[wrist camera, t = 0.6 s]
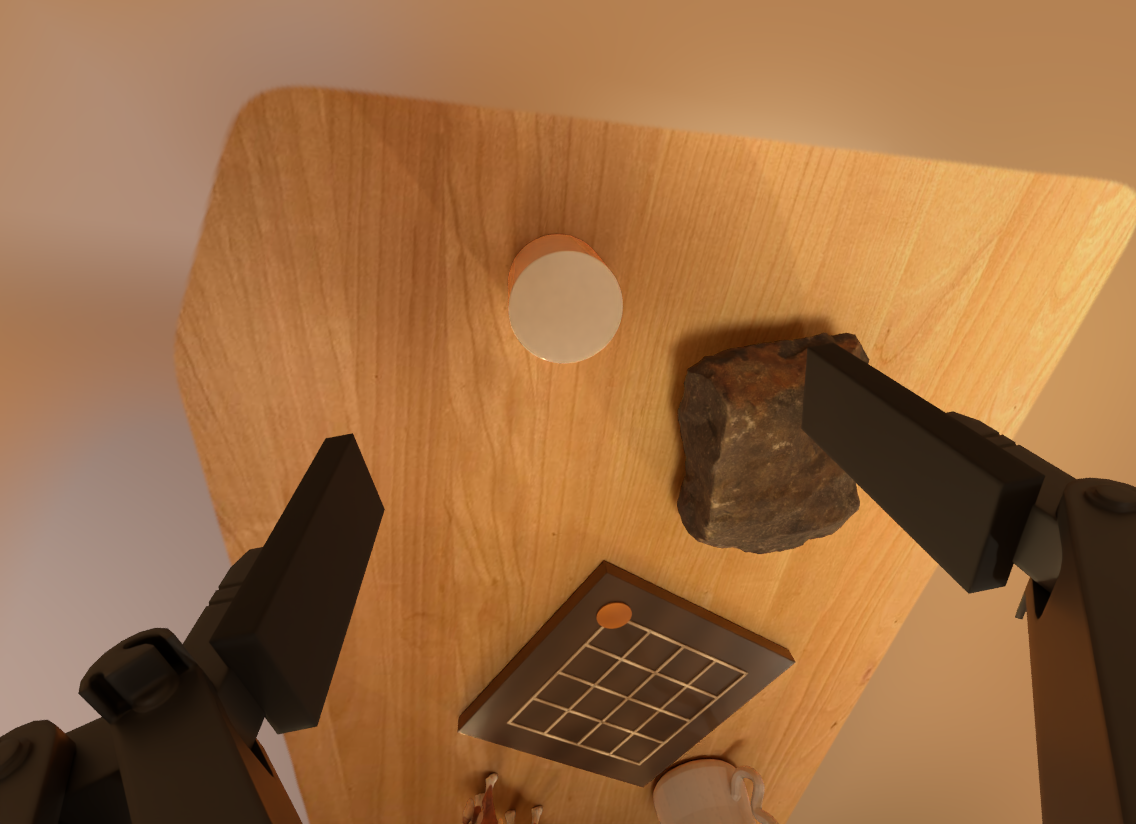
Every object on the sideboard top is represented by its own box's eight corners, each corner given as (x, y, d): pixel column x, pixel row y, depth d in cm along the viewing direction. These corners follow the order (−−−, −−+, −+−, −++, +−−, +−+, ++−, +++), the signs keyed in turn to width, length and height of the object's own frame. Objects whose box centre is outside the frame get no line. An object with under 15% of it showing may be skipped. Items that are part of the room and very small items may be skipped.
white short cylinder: (488, 298, 27) (486, 325, 23) (544, 212, 26) (552, 225, 22) (568, 349, 29) (578, 383, 25) (625, 272, 27) (646, 294, 23)
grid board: (458, 718, 43) (456, 734, 42) (603, 560, 37) (607, 574, 36) (640, 774, 50) (643, 789, 49) (789, 649, 44) (796, 664, 43)
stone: (666, 520, 36) (699, 589, 31) (675, 335, 28) (720, 387, 24) (801, 495, 37) (853, 556, 32) (845, 310, 30) (922, 355, 25)
